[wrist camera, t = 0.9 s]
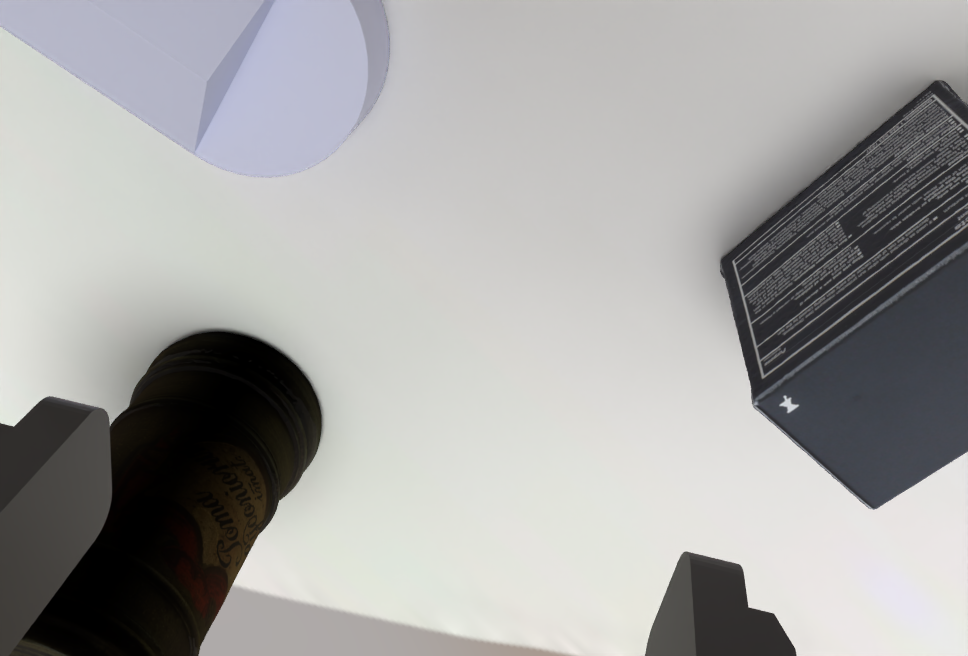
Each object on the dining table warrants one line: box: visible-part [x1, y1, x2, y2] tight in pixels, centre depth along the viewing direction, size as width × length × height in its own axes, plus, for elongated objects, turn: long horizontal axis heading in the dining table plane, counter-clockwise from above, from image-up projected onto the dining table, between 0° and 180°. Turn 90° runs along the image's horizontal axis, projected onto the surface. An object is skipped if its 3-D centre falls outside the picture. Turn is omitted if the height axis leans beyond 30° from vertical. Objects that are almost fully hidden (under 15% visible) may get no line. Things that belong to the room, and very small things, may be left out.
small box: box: [720, 81, 968, 510], centre depth 31 cm, size 11×6×10 cm, turn 139°
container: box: [9, 332, 321, 656], centre depth 37 cm, size 9×9×18 cm
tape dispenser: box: [0, 0, 390, 177], centre depth 32 cm, size 9×7×13 cm
